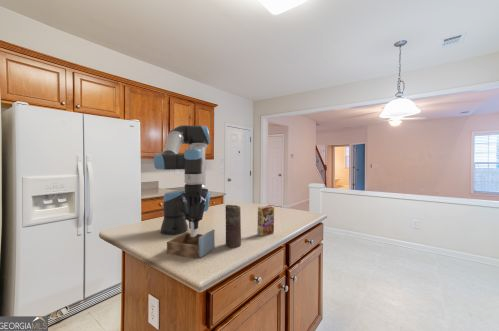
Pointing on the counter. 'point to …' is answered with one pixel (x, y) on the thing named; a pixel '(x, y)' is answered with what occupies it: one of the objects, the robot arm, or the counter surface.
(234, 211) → the candle
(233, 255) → the counter surface
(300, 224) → the counter surface
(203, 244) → the panel
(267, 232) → the candy box
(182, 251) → the box
